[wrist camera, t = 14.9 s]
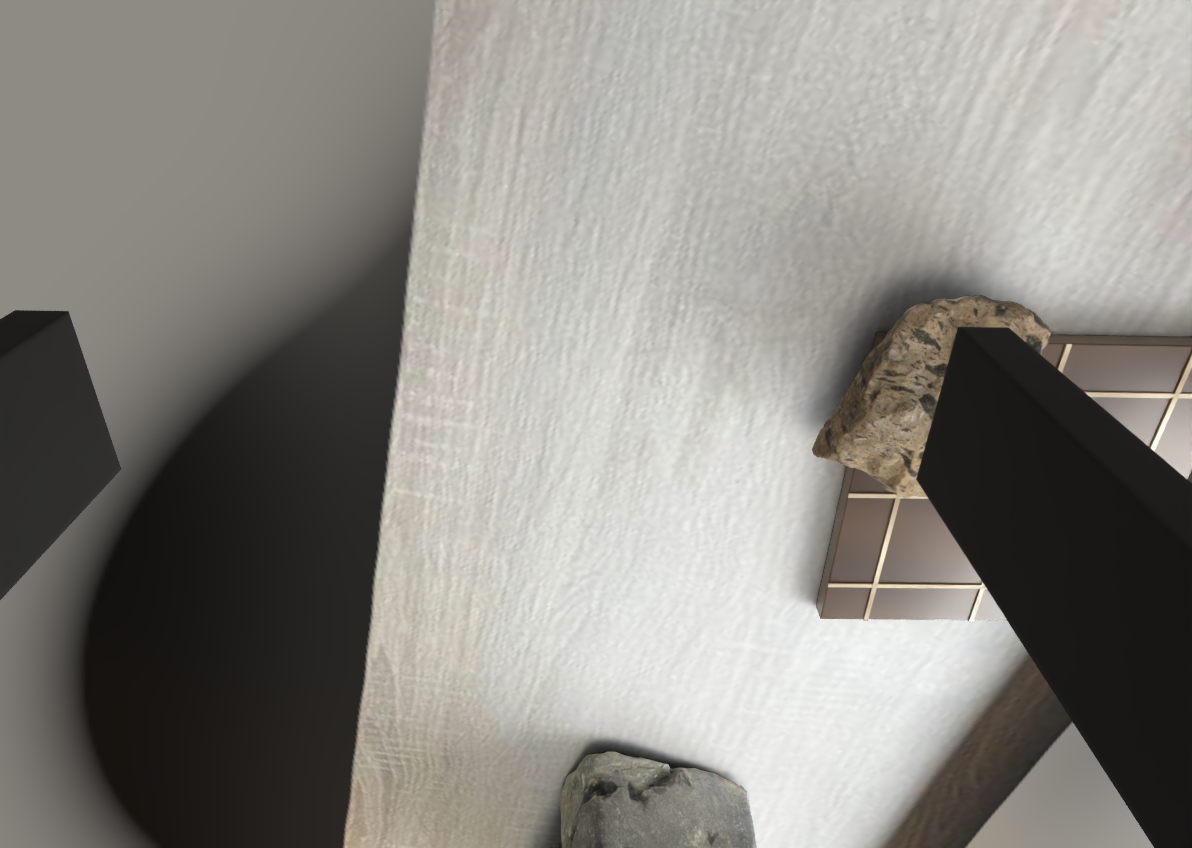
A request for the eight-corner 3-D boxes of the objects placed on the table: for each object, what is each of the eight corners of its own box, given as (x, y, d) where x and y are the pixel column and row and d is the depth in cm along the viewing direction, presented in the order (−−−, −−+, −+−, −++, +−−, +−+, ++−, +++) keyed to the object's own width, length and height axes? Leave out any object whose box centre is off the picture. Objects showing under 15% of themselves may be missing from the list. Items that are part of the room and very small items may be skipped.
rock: (1086, 339, 42) (1136, 377, 38) (945, 501, 47) (978, 548, 43) (919, 251, 39) (956, 283, 35) (789, 433, 44) (810, 478, 41)
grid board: (875, 331, 43) (884, 341, 42) (1236, 337, 43) (1254, 348, 42) (815, 606, 53) (820, 621, 52) (1108, 609, 53) (1120, 623, 52)
